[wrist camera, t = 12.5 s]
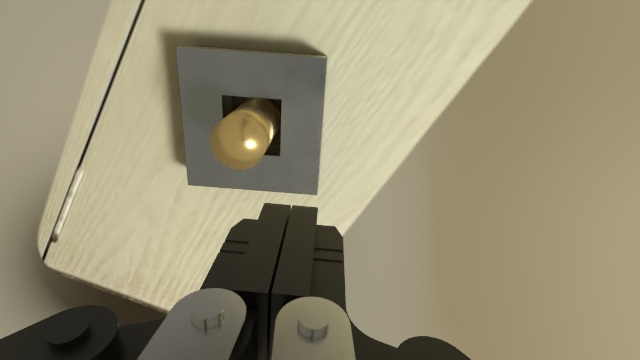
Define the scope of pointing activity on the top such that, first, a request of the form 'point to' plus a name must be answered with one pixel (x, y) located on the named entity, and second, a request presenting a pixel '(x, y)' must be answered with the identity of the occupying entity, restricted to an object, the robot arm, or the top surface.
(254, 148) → the brass cylinder
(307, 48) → the top surface
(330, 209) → the top surface
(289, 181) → the frame
